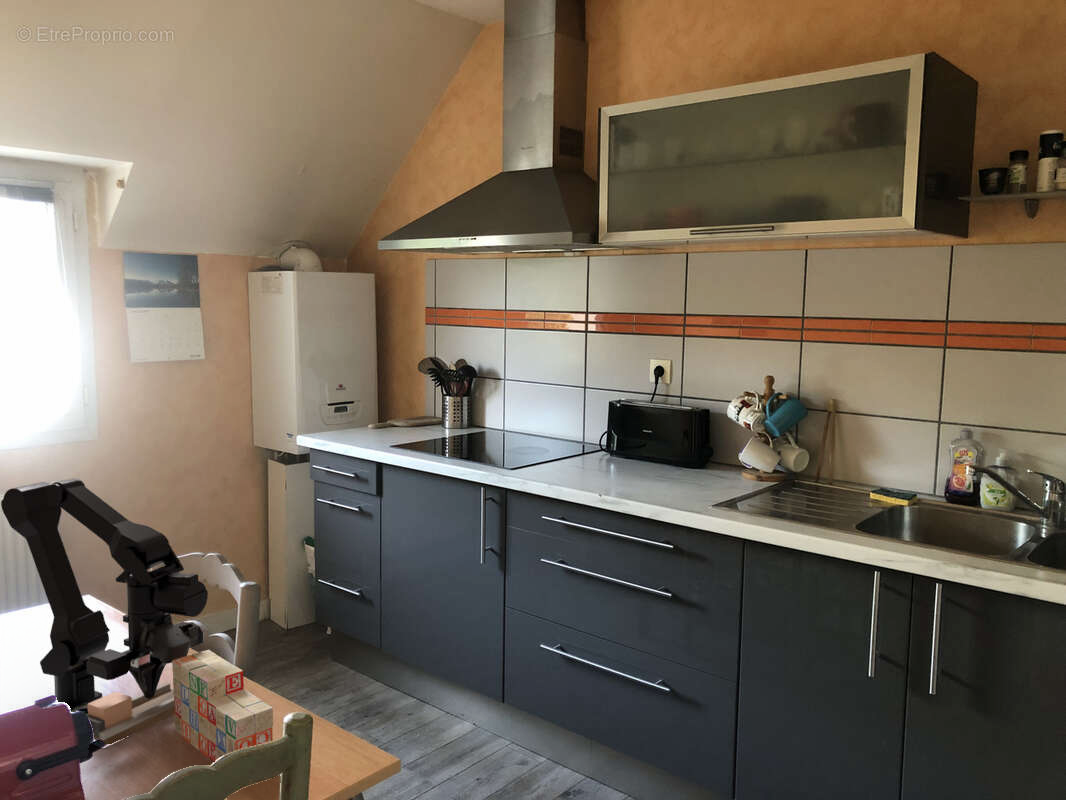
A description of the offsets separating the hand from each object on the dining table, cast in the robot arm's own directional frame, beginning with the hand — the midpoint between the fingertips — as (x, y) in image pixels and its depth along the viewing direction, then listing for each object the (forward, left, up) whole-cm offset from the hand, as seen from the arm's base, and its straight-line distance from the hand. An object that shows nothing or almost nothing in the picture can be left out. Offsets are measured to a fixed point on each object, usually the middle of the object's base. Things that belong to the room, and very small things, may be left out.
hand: (149, 697), depth 144 cm
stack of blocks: (+19, -2, -3) cm, 19 cm away
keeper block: (0, -7, -2) cm, 7 cm away
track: (0, -3, -3) cm, 4 cm away
